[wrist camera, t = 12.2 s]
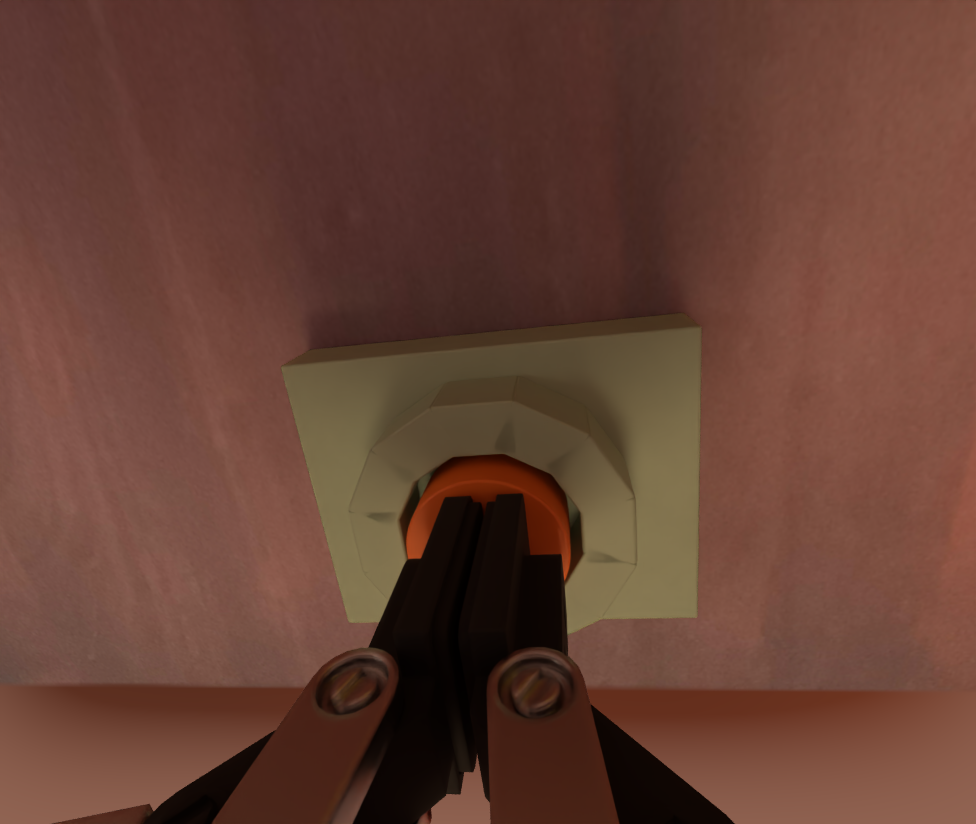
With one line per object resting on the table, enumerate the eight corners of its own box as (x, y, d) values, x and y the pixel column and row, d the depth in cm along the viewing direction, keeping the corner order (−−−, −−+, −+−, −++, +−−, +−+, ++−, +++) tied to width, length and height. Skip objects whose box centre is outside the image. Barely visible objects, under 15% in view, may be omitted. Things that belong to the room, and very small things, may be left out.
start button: (435, 574, 14) (420, 621, 12) (412, 450, 13) (391, 484, 11) (573, 570, 13) (576, 619, 12) (563, 440, 12) (564, 475, 11)
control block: (366, 586, 17) (323, 672, 14) (308, 349, 15) (238, 388, 11) (683, 578, 16) (717, 673, 13) (684, 312, 13) (727, 345, 10)
